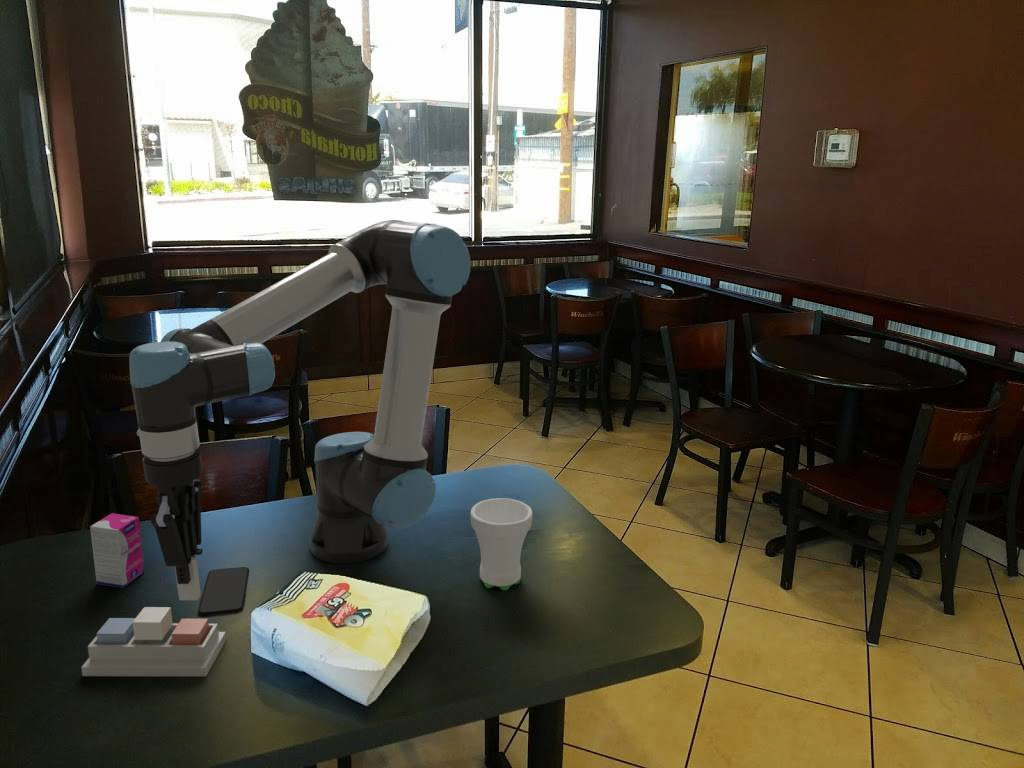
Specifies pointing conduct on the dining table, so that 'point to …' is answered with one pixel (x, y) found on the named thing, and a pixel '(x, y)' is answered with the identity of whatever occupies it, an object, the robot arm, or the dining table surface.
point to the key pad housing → (154, 657)
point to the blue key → (116, 631)
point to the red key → (190, 632)
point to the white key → (152, 623)
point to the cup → (501, 539)
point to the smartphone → (224, 591)
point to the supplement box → (117, 550)
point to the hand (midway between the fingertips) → (190, 597)
